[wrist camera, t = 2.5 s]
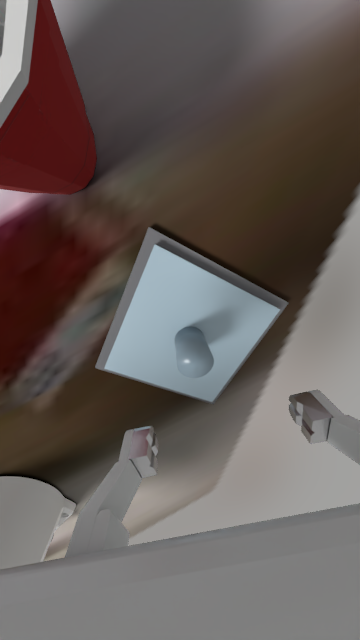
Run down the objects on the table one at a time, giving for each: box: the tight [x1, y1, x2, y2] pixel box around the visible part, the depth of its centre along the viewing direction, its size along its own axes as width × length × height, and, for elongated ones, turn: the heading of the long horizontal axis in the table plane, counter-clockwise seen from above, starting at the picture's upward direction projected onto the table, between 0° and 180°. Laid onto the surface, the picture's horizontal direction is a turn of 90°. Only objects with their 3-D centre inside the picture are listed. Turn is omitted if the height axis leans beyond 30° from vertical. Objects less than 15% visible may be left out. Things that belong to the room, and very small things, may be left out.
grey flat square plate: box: [95, 227, 288, 404], centre depth 20 cm, size 16×16×1 cm
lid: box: [104, 244, 280, 402], centre depth 17 cm, size 14×14×5 cm
